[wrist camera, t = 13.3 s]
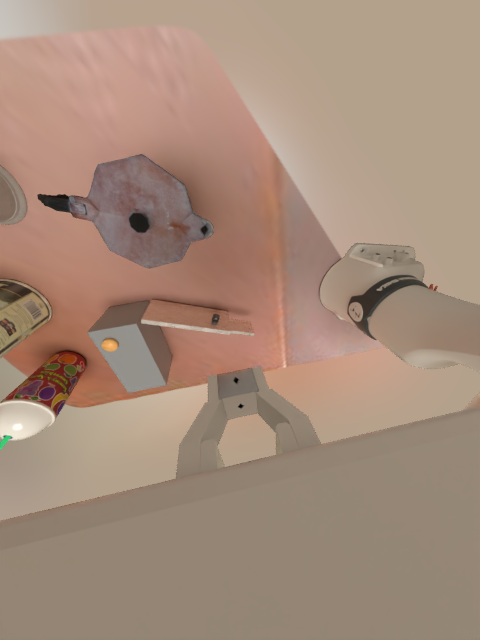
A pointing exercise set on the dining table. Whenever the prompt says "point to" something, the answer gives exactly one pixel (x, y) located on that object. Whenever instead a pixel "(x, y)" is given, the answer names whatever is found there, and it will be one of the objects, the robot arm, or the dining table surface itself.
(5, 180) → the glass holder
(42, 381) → the smoothie
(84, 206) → the moka pot
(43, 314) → the coffee can
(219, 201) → the dining table surface
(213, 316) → the side door
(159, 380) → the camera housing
